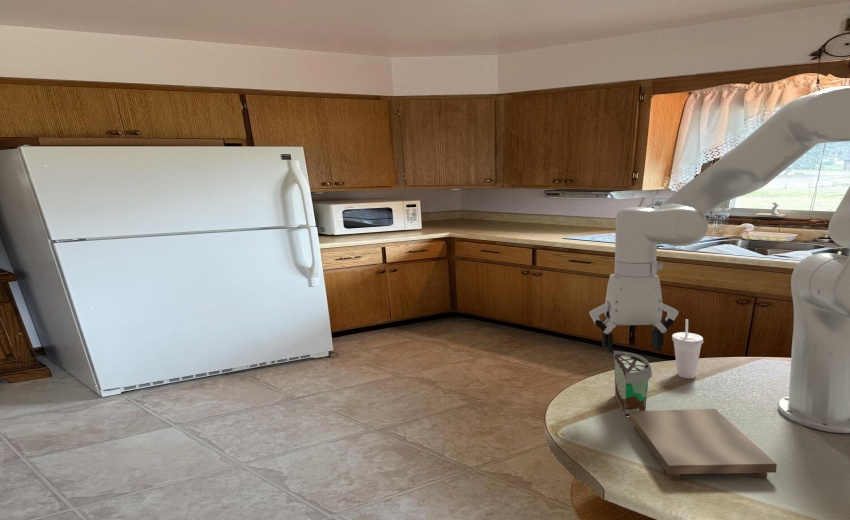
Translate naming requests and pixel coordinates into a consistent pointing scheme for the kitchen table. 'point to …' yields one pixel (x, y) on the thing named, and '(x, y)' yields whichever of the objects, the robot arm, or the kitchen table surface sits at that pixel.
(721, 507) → the kitchen table surface
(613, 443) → the kitchen table surface
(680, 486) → the kitchen table surface
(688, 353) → the smoothie
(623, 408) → the food container
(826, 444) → the kitchen table surface
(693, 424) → the tan square plate
